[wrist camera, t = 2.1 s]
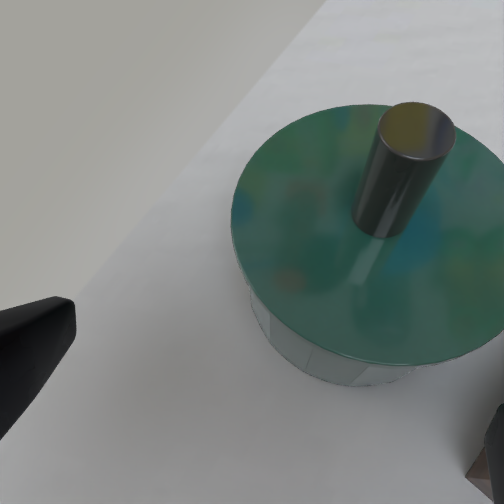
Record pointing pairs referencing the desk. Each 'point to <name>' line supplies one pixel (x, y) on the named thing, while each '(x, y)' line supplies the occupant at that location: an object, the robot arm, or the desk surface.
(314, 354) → the pot
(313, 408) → the desk surface
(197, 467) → the desk surface
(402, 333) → the lid
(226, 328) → the desk surface
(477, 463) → the lid rest
